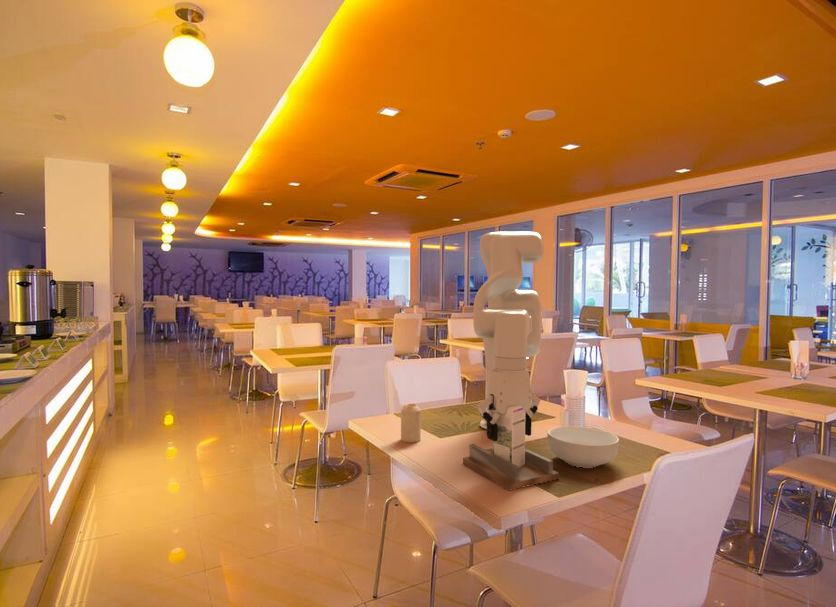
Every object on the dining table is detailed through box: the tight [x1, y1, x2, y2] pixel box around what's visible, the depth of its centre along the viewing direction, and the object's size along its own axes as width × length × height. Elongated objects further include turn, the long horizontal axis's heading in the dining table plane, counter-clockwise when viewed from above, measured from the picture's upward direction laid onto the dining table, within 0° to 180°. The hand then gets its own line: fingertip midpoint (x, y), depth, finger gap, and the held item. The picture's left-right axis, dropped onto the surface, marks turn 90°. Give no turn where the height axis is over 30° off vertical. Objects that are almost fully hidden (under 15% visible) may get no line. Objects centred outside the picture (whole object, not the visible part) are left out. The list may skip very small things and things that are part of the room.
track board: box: [462, 443, 560, 491], centre depth 117 cm, size 14×18×4 cm
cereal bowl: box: [547, 426, 620, 469], centre depth 123 cm, size 17×17×7 cm
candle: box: [400, 403, 422, 444], centre depth 141 cm, size 6×6×10 cm
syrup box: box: [491, 405, 526, 467], centre depth 117 cm, size 6×6×14 cm
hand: (509, 436), depth 117 cm, fingers open, 9 cm apart
